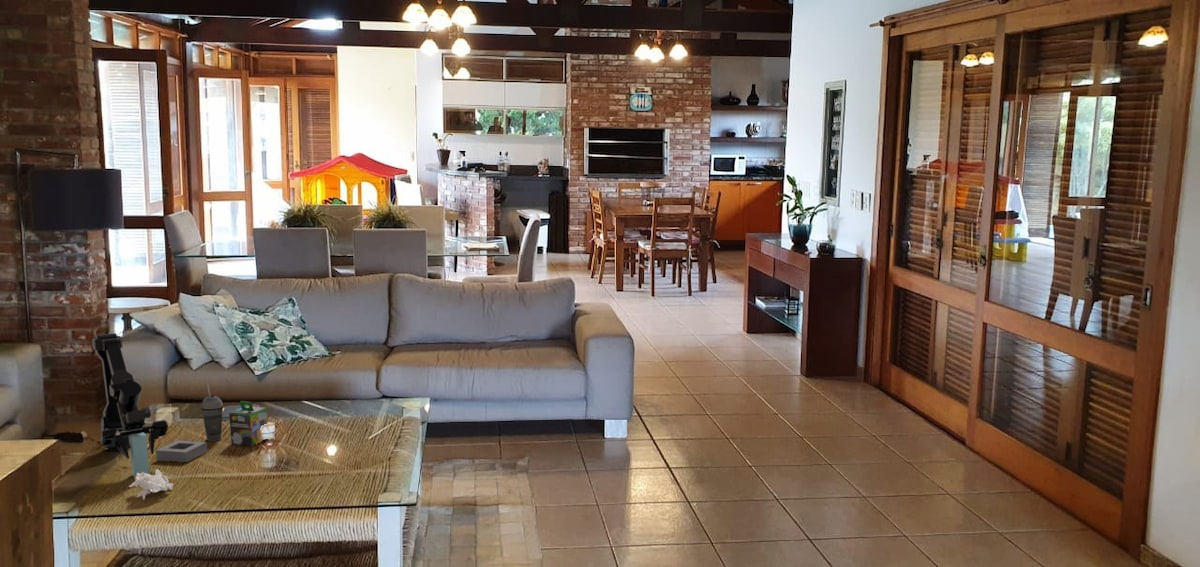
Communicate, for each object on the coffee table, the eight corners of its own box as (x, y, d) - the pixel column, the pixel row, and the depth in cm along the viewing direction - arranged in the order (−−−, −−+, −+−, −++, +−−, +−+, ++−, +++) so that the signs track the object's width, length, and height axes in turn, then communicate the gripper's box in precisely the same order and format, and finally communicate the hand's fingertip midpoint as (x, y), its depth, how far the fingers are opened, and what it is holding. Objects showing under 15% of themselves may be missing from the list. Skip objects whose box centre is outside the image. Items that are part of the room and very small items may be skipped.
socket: (156, 460, 308) (156, 450, 308) (178, 450, 319) (177, 440, 318) (186, 462, 306) (185, 452, 305) (207, 452, 316) (206, 442, 316)
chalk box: (269, 439, 331) (267, 398, 329) (252, 447, 322) (249, 404, 320) (248, 436, 334) (245, 396, 332) (230, 444, 325) (227, 402, 323)
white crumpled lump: (142, 484, 269) (125, 467, 276) (137, 506, 270) (121, 489, 277) (183, 481, 278) (166, 465, 286) (178, 502, 279) (161, 485, 286)
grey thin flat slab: (254, 416, 356) (211, 418, 352) (255, 420, 356) (212, 423, 353) (261, 402, 375) (221, 404, 372) (262, 407, 375) (221, 409, 372)
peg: (132, 474, 294) (129, 434, 293) (146, 472, 297) (143, 432, 295) (135, 478, 291) (132, 437, 289) (149, 475, 294) (146, 435, 292)
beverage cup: (217, 443, 327) (213, 386, 324) (198, 441, 328) (194, 385, 325) (229, 436, 334) (226, 381, 331) (211, 435, 335) (207, 380, 332)
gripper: (99, 404, 288) (109, 448, 281) (164, 395, 300) (176, 436, 293) (96, 424, 295) (106, 467, 288) (159, 413, 307) (171, 454, 300)
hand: (140, 455), depth 292 cm, fingers open, 7 cm apart
